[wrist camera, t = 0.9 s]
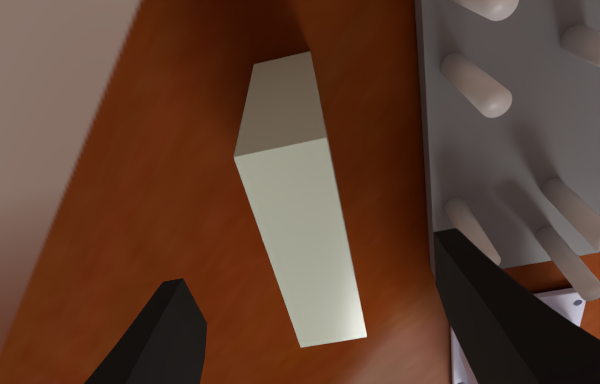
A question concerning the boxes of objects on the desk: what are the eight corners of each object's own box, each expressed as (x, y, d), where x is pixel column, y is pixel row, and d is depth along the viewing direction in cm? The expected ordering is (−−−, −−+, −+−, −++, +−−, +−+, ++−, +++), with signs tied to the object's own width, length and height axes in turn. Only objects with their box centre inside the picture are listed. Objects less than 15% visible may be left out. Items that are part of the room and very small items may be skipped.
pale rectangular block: (341, 205, 21) (367, 336, 15) (296, 214, 21) (300, 347, 15) (310, 51, 17) (326, 137, 10) (253, 64, 17) (233, 157, 10)
